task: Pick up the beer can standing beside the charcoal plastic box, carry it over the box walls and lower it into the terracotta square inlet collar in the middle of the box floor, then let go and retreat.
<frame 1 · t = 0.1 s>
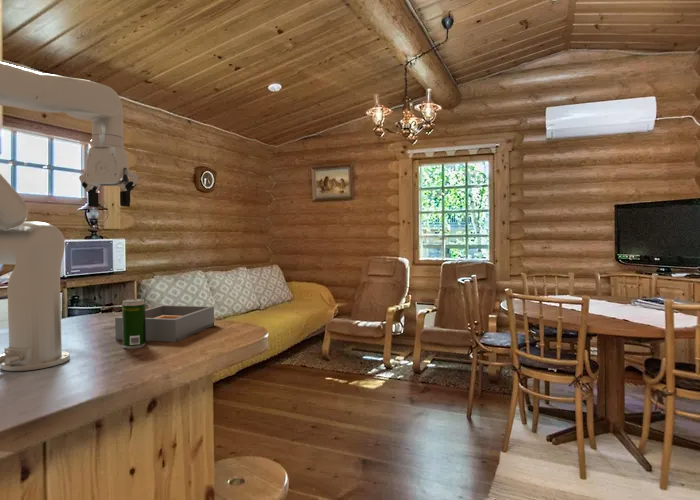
hand: (109, 206, 119), 37 cm above the table, tool pointing down, fingers open, 9 cm apart
beer can: (134, 347, 112), on the table
walled box: (168, 331, 129), on the table
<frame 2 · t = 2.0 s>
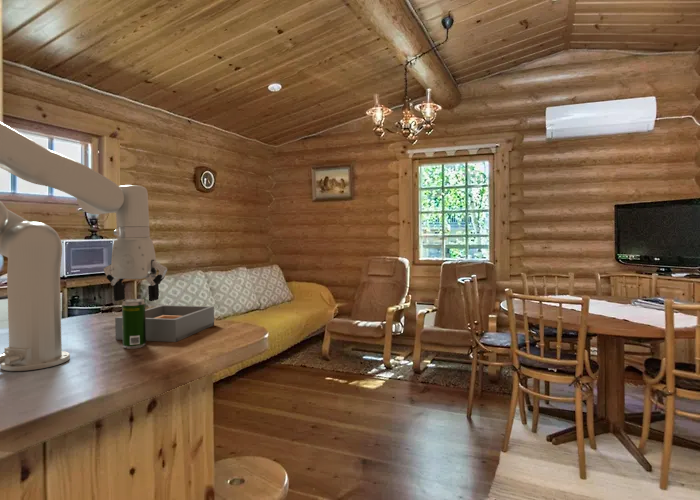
hand: (136, 300, 112), 12 cm above the table, tool pointing down, fingers open, 9 cm apart
nothing on the table moved.
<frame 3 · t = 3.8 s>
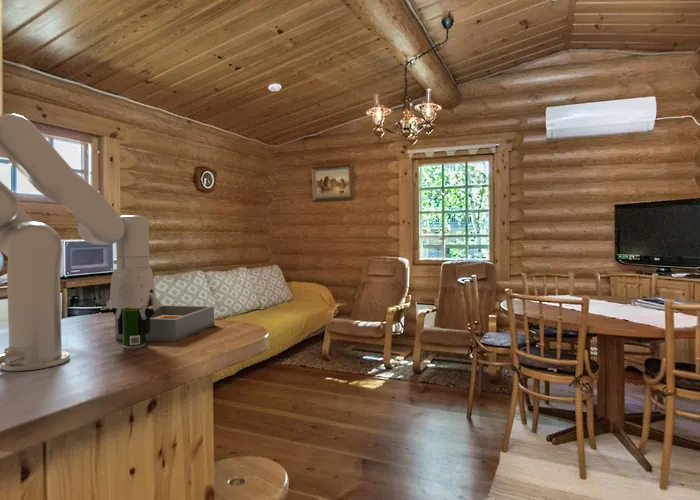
hand: (134, 333, 112), 3 cm above the table, tool pointing down, fingers closed on beer can, 5 cm apart
beer can: (134, 347, 112), on the table, touching gripper
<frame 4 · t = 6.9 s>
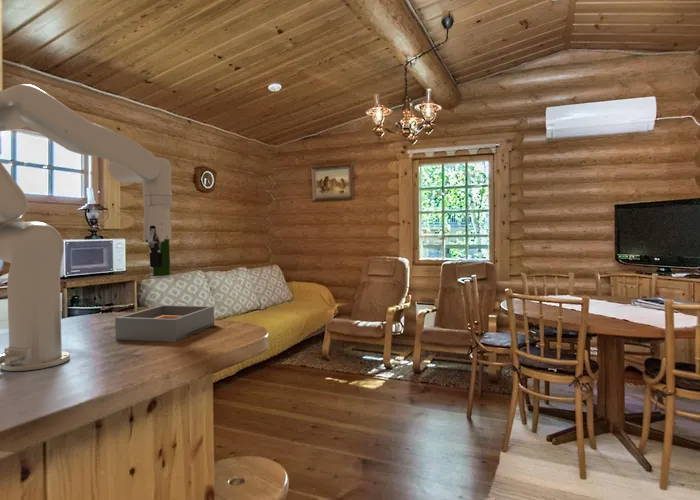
hand: (160, 265, 124), 20 cm above the table, tool pointing down, fingers closed on beer can, 5 cm apart
beer can: (160, 278, 124), point 16 cm above the table, touching gripper
when the fingers open (6 cm above the table, at t = 10.2 s): beer can drops 1 cm, resting on walled box.
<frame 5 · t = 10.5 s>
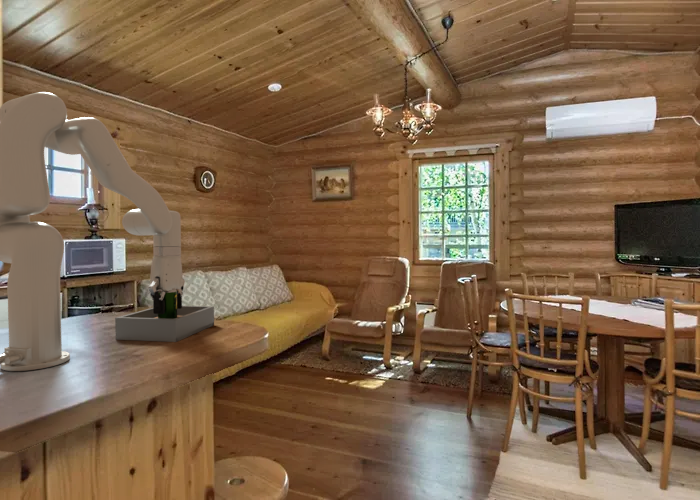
hand: (168, 310, 129), 6 cm above the table, tool pointing down, fingers open, 8 cm apart
beer can: (167, 329, 128), point 1 cm above the table, touching walled box
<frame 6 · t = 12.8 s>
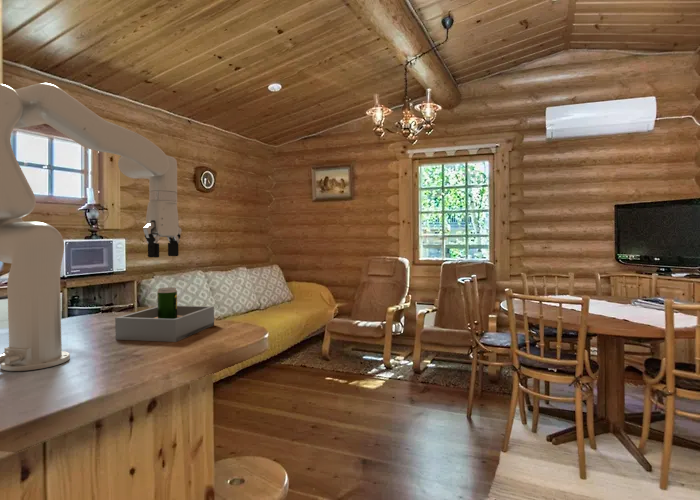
hand: (163, 256, 127), 22 cm above the table, tool pointing down, fingers open, 9 cm apart
nothing on the table moved.
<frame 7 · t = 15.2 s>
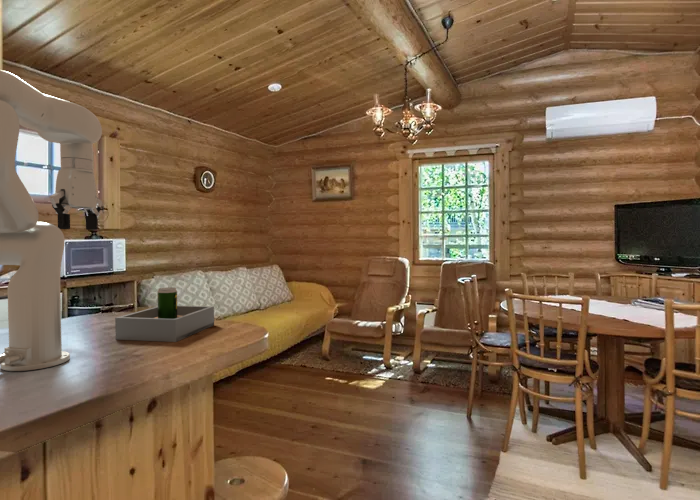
hand: (78, 229, 119), 30 cm above the table, tool pointing down, fingers open, 9 cm apart
nothing on the table moved.
at the end: beer can 0.3 cm off-centre on the walled box, point 0.8 cm above the walled box's base; beer can tilted 0°; the gripper is holding nothing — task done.
